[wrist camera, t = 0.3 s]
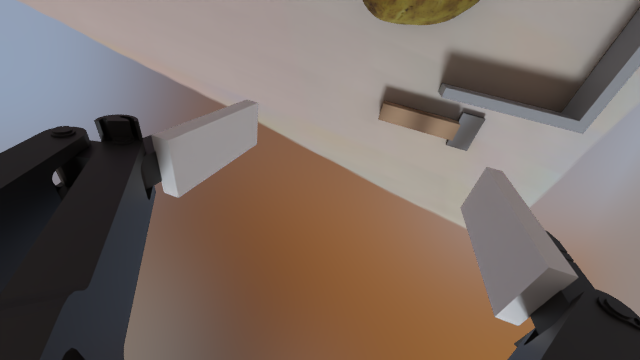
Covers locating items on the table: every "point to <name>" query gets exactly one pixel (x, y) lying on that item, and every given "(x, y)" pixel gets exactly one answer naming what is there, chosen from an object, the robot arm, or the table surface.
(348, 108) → the table surface
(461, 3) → the potato
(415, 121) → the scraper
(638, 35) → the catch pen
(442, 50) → the table surface
